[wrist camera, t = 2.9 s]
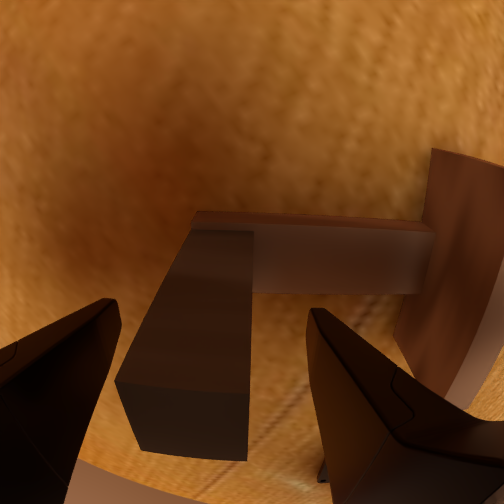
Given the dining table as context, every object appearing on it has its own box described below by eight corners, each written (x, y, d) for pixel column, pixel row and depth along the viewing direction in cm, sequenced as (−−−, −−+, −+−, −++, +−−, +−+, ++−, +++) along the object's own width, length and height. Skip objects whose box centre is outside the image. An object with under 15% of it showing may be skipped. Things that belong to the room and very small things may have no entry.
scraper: (422, 333, 16) (497, 465, 7) (203, 334, 16) (168, 506, 7) (464, 154, 12) (627, 220, 4) (197, 128, 12) (70, 156, 4)
